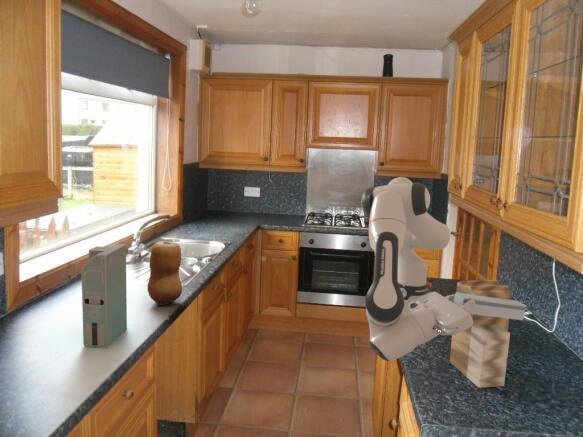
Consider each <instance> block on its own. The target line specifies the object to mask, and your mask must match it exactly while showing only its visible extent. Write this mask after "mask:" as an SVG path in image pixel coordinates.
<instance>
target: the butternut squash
mask: <svg viewBox="0 0 583 437" xmlns="http://www.w3.org/2000/svg"><path fill="white" fill-rule="evenodd" d="M181 262H182V248H181V247H180V244H178V243H176V242H174V241H166V240H164V241H163V240H161V241H160V240H159V241H157V242H155V243H154V244H152V247H151V250H150V256H149V268H150V269H149V270H150V274H149V275H150V276H149V279H148V282H147V292H148V296H149V297H150V298H151V300H152V301H153V302H154V303H156V304H157V305H158V306H165V305H168V304H172V303H173V302H175V301H176V300H178V299H179V298H180V297H181V295H182V292H183V286H182V285H183V284H182V281H181V277H180V273H179V272H180V267H181Z"/></svg>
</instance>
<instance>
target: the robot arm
mask: <svg viewBox="0 0 583 437" xmlns="http://www.w3.org/2000/svg"><path fill="white" fill-rule="evenodd" d="M430 204H431V194H430V193H429V190H428V187H427V186H426V185H425V184H424V183H419V182H412V180H410V179H409V178H408V177H402V176H399V177H395V178H393V179H392V180H390V181H389V182H388V184H385V185H380V186H372V187H369V188H366V189H365V190H364V191H363V193H362V196H361V208H362V211H363V213H364V215H365V216H367V218H369V219H368V220H369V221H368V239H369V241H368V242H369V246H370V248H371V249H372V250H373V251H374V257H375V258H374V276H373V282H372V283H371V286H370V288H369V289H368V290H367V293H366V296H365V315H366V318H367V322H368V326H369V345H370V347H371V348H372V350H373V351H374V352H375V354H376V355H377V356H378V357H379V358H381V359H382V360H383V361H386V362H393V361H396V360H397V359H400V358H403V357H404V356H406V355H407V354H409V353H411V352H412V351H414V349H415V348H416V347H419V346H420V345H423V344H426V343H427V342H429V341H431V340H432V339H435V338H436V337H437V336H439V335H440V336H452V335H455V334H457V333H460V332H462V331H464V330H466V329H468V328H470V327H471V326H472V325H473V323H474V322H473V319H472V317H471V315H470V313H469V310H470V309H471V307H473V306H475V304H476V303H475V301H474V300H473V299H471V298H470V299H468V300H466V303H465V304H464V306H463V305H461V306H460V307H459V306H458V305H456V304H454V303H453V302H454V297H455V294H450V295H446V296H443V295H441V294H440V293H439V292H437V291H430V292H429V289H432V286H433V285H432V282H428V281H427V278H428V277H427V276H428V263H427V262H426V260H424V258H422V257H421V256H420V255H418V254H417V253H416V251H415V249H419V250H426V251H427V250H428V251H439V250H440V251H442V250H444V249H445V248H447V246H448V245H449V243H450V241H451V231H450V229H449V227H448V225H447V224H445V223H443V222H440V221H439V220H437V219H436V218H434V217H433V216H432V215H431V214H429V212H428V210H429V207H430ZM458 293H461V292H458Z"/></svg>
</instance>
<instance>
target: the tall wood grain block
mask: <svg viewBox="0 0 583 437" xmlns="http://www.w3.org/2000/svg"><path fill="white" fill-rule="evenodd" d="M458 292H461V293H464V294H471V295H478V296H486V297H493V298H501V299H508V300H513V299H512V298H513V290H511V289H510V286H509V285H500V284H499V283H498V279H482V280H481V279H478V280H477V279H476V280H475V279H474V280H460V281H459V282H458V281H456V292H455V293H458ZM470 315H471V317H472V319H473V322H474V323H473V325H472V326H471V327H470V328H468V329H466V330H464V331H462V332H460V333H457V334H455V335H451V345H450V356H449V363H450V364H451V365H452V366H453V367H455V368H456V369H457V370H458V371H460V373H461V374H463V375H464V376H465V377H466V378H467V379H468V380H470V382H472V384H474V386H476V387H477V388H480V389H481V388H493V387H494V388H495V387H505V380H506V373H507V364H508V363H507V362H508V356H509V355H508V354H509V347H510V337H511V332H509V326H510V325H509V323H510V319H508V318H500V317H492V316H484V315H476V314H470Z"/></svg>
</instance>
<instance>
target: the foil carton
mask: <svg viewBox="0 0 583 437" xmlns="http://www.w3.org/2000/svg"><path fill="white" fill-rule="evenodd" d="M470 298H471V299H473V300H474V301H475V303H476V304H475V306H473V307H471V309H470V310H469V313H470V314H476V315H484V316H492V317H500V318H508V319H509V320H518V321H524V316H525V313H526V308H527V305H526V304H524V303H522V302H521V301H518V300H515V299H511V300H508V299H501V298H493V297H486V296H478V295H471V294H464V293H456V292H455V297H454V302H453V303H454V304H456V305H458V306H459V307H460V306H461V305H463V306H464V304H465V303H466V300H468V299H470Z"/></svg>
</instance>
